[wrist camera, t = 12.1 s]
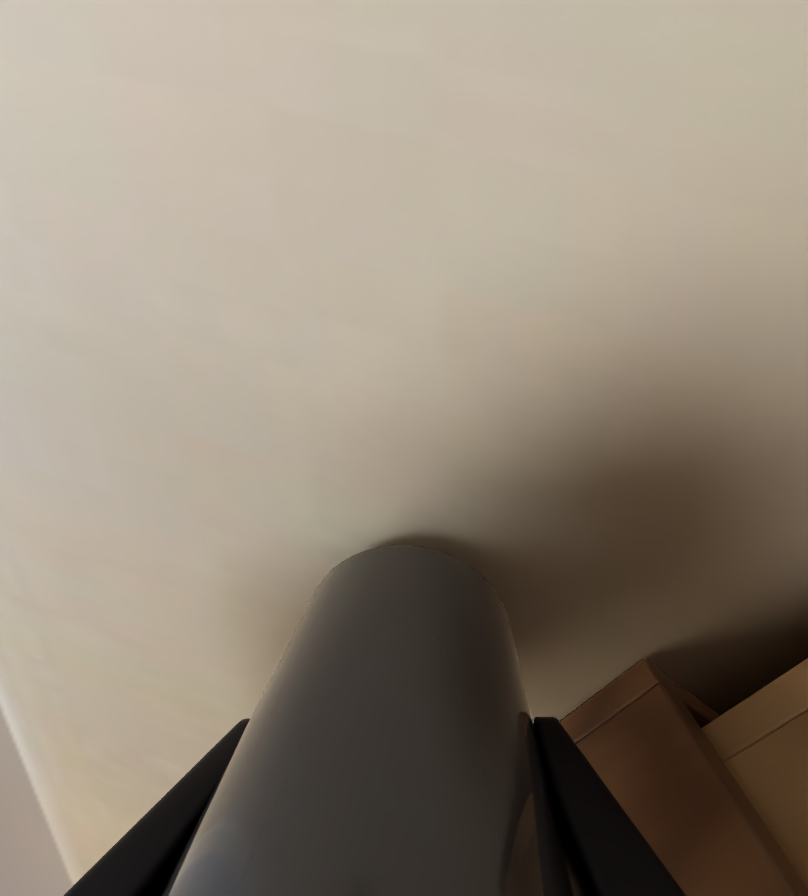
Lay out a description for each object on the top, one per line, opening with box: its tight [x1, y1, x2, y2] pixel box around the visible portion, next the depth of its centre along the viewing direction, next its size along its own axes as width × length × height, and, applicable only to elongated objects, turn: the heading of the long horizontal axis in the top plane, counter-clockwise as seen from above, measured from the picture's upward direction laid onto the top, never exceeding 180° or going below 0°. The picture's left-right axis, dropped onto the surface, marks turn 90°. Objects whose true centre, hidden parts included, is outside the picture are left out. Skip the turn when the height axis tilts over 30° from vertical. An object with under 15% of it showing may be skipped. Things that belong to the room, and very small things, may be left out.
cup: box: [160, 545, 574, 896], centre depth 6 cm, size 5×5×8 cm
